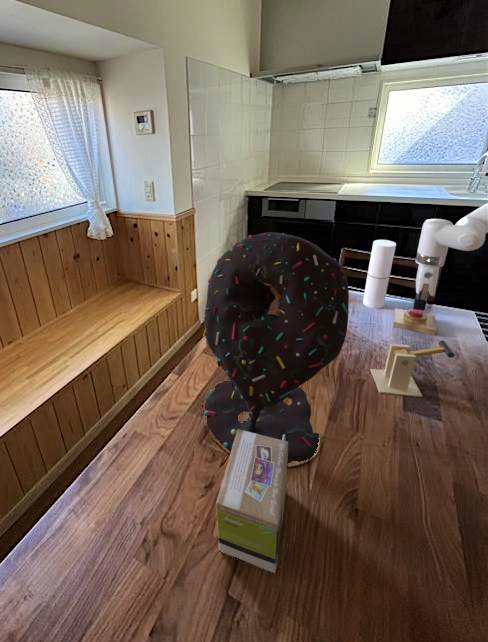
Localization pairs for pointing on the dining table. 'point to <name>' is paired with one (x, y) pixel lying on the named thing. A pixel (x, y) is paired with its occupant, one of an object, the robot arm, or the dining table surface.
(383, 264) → the cylindrical container
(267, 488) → the tea box
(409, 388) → the switch bracket
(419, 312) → the lamp button
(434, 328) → the button block
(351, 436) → the dining table surface
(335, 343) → the chocolate sprinkled donut
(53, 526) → the dining table surface
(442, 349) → the switch lever
